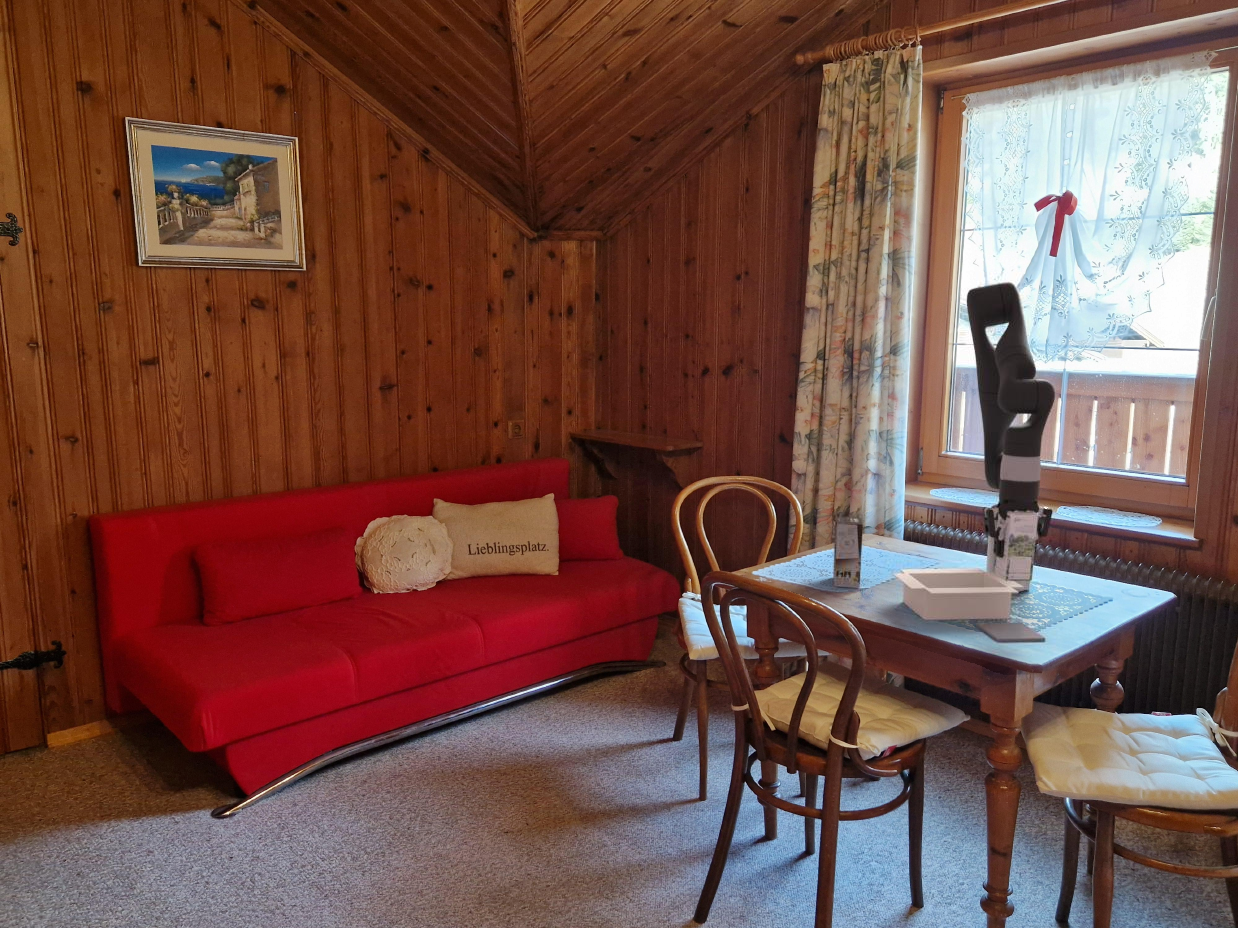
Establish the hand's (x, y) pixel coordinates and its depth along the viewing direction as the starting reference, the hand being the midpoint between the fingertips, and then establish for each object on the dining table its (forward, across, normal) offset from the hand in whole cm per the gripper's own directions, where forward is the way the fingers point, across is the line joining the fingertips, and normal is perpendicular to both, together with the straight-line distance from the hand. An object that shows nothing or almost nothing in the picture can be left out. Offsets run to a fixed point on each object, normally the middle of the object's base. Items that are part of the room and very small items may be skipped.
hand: (1014, 556), depth 190 cm
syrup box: (+5, 0, 0) cm, 5 cm away
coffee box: (+17, +23, -39) cm, 48 cm away
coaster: (+17, 0, 0) cm, 17 cm away
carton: (+17, +5, -16) cm, 23 cm away
